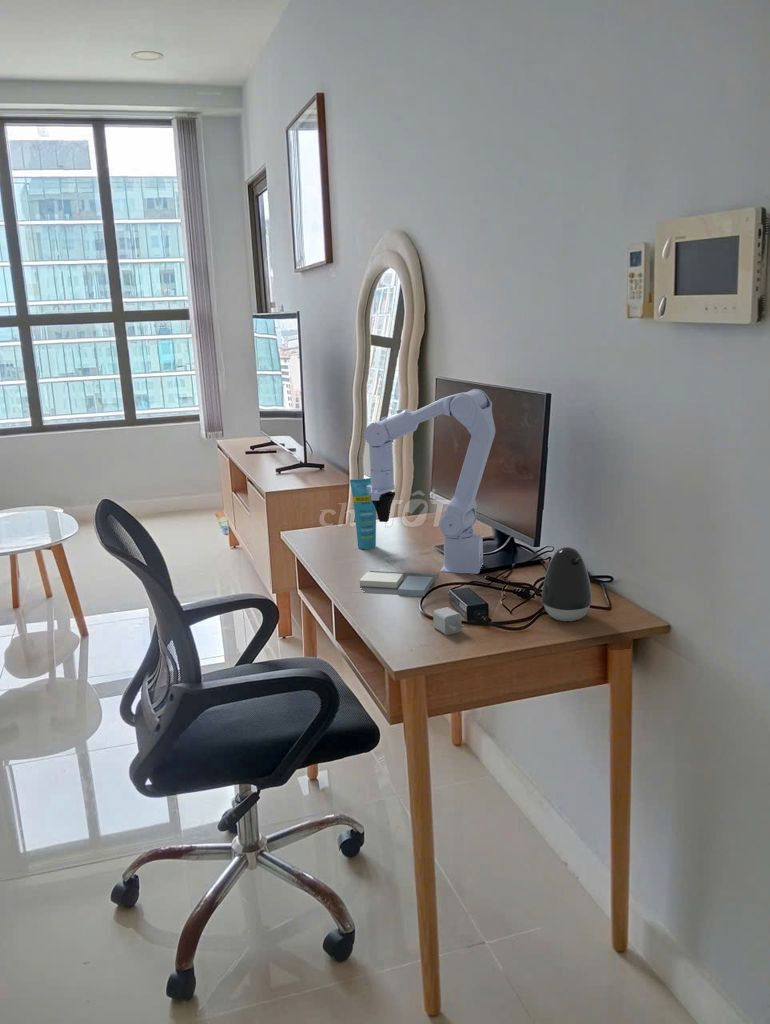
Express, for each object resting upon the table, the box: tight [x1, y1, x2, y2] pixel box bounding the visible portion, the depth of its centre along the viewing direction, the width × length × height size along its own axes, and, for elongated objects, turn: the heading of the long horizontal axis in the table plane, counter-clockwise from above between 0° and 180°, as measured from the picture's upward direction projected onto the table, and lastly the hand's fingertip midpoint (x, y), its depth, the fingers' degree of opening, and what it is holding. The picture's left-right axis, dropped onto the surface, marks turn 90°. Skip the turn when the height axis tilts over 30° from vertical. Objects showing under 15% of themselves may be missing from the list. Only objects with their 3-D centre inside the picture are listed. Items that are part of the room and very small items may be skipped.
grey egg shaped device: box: [541, 546, 593, 622], centre depth 175 cm, size 10×10×15 cm
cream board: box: [359, 571, 403, 588], centre depth 201 cm, size 9×1×6 cm
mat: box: [360, 570, 439, 597], centre depth 201 cm, size 17×15×1 cm
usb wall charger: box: [432, 606, 465, 636], centre depth 172 cm, size 4×7×4 cm, turn 28°
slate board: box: [397, 576, 434, 597], centre depth 196 cm, size 9×6×1 cm, turn 164°
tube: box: [349, 477, 377, 550], centre depth 228 cm, size 7×5×19 cm, turn 103°
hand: (383, 521), depth 216 cm, fingers closed
